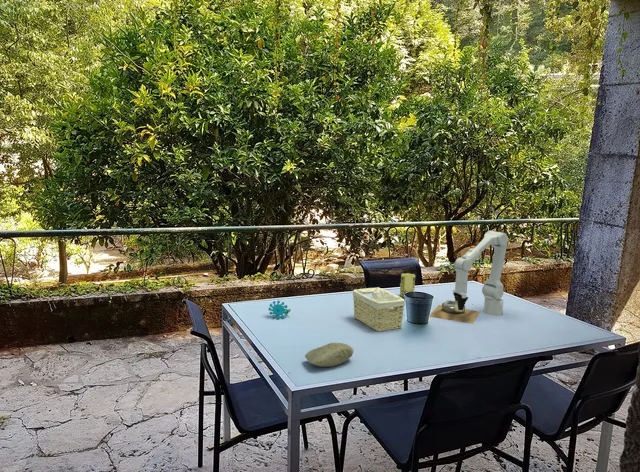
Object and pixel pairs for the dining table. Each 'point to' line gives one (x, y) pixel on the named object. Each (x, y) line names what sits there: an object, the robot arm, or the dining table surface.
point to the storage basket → (378, 308)
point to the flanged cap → (457, 307)
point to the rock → (330, 354)
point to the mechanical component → (407, 283)
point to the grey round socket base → (450, 307)
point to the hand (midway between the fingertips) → (459, 308)
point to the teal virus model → (279, 309)
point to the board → (456, 315)
